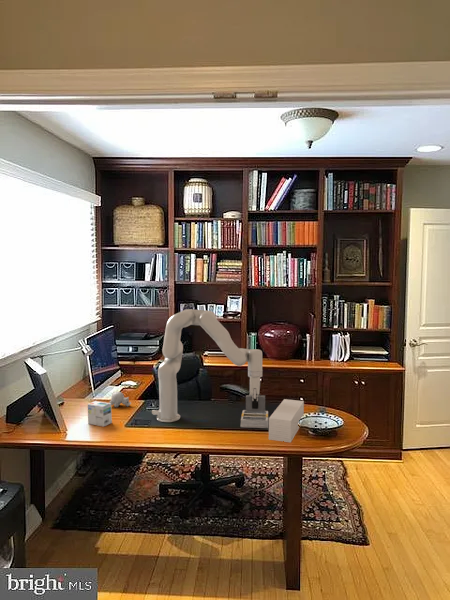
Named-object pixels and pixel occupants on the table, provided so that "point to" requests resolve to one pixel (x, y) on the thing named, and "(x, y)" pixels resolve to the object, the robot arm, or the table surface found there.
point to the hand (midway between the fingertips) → (255, 407)
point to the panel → (260, 404)
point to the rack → (254, 419)
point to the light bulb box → (99, 413)
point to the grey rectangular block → (285, 420)
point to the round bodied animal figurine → (119, 399)
